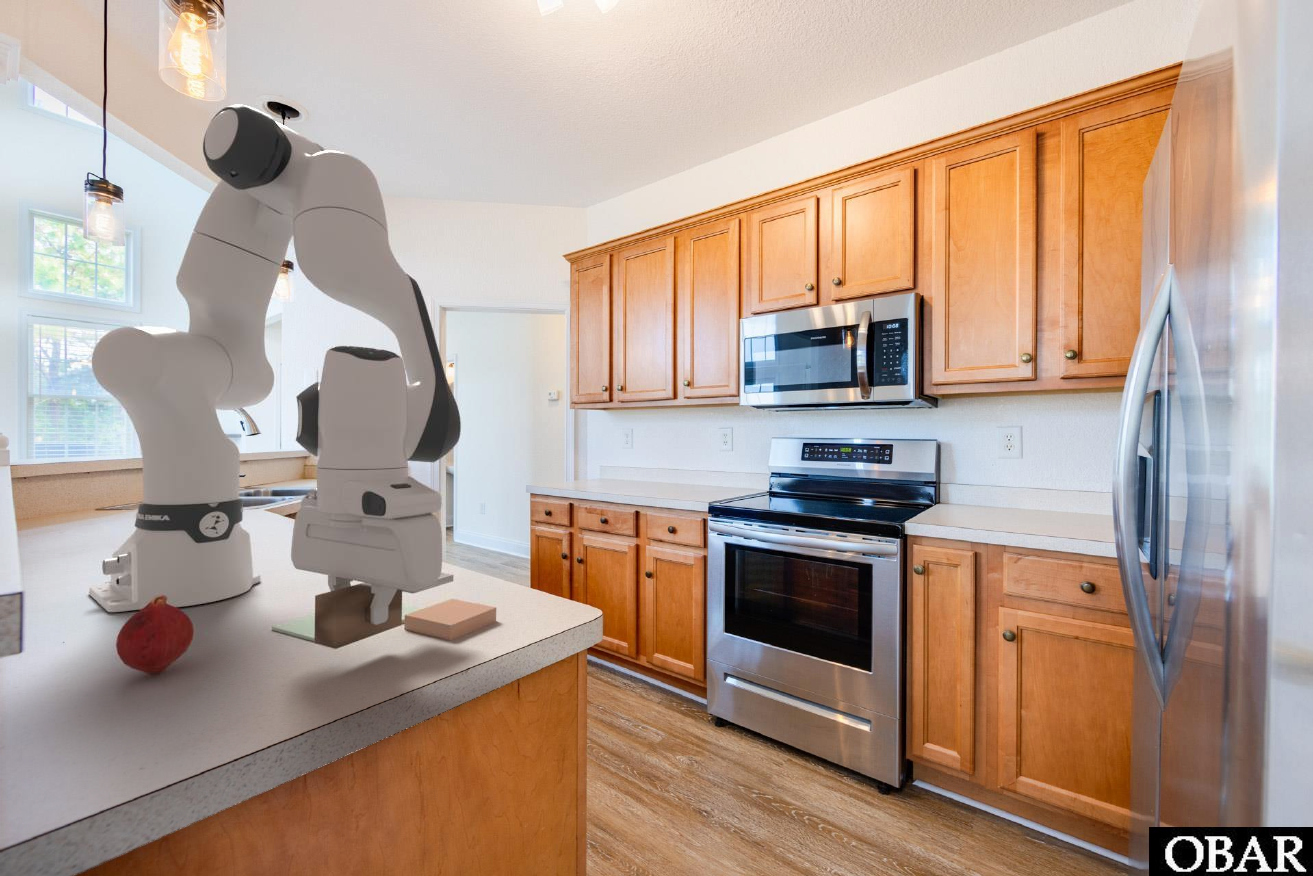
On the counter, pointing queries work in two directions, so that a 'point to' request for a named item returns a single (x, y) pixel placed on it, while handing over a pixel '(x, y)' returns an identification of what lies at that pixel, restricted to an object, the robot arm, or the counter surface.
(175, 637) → the onion
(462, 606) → the tile
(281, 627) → the plate
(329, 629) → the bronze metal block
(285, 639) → the counter surface
